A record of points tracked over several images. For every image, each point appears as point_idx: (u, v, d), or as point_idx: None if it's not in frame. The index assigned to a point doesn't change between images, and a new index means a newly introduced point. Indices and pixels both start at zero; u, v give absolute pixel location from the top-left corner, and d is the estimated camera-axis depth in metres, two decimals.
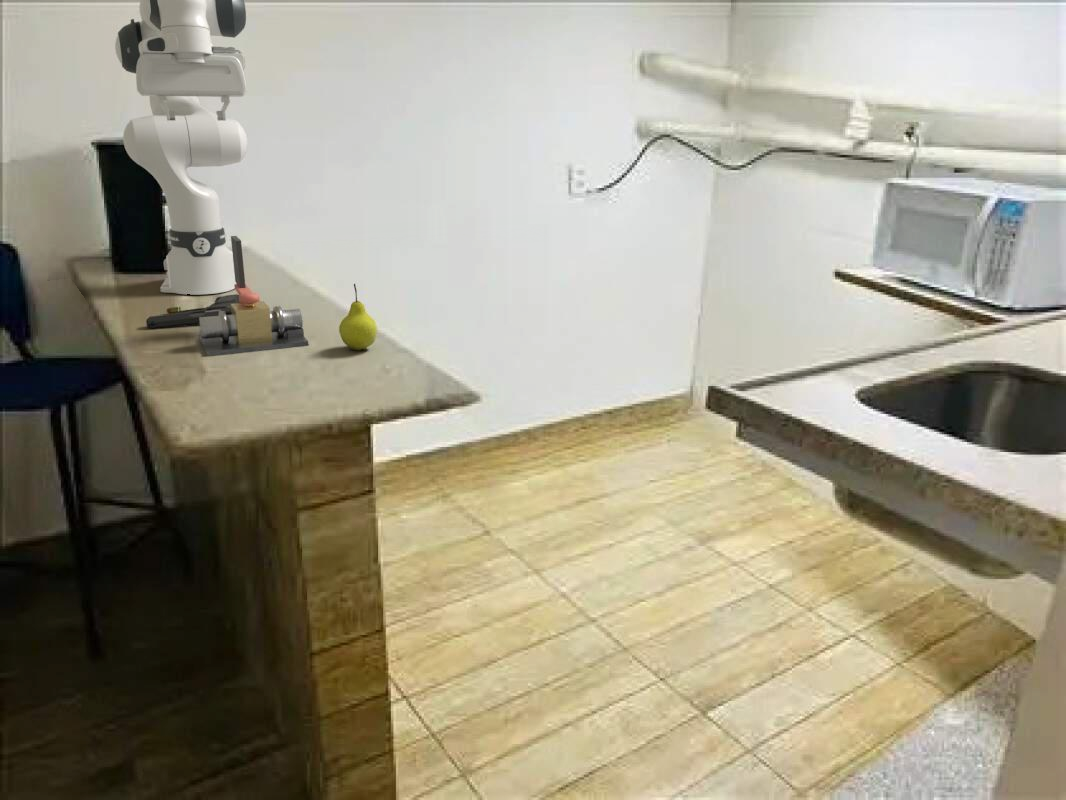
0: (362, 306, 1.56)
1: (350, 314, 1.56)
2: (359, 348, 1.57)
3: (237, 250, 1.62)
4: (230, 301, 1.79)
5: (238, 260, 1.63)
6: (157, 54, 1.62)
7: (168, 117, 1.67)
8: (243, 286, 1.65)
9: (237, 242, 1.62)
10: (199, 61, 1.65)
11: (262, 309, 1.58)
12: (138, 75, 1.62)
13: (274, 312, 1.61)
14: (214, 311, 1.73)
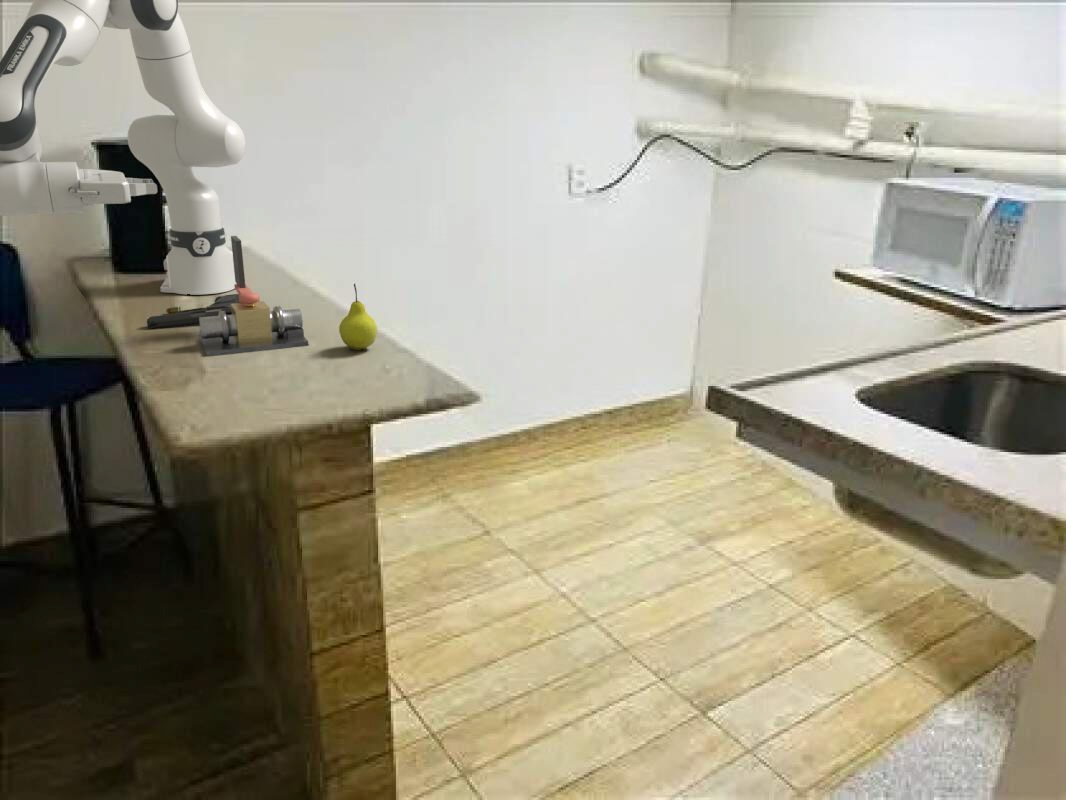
0: (362, 306, 1.56)
1: (350, 314, 1.56)
2: (359, 348, 1.57)
3: (237, 250, 1.62)
4: (230, 301, 1.80)
5: (238, 260, 1.63)
6: None
7: None
8: (243, 286, 1.65)
9: (237, 242, 1.62)
10: (91, 204, 1.50)
11: (262, 309, 1.58)
12: None
13: (274, 312, 1.61)
14: (215, 311, 1.73)
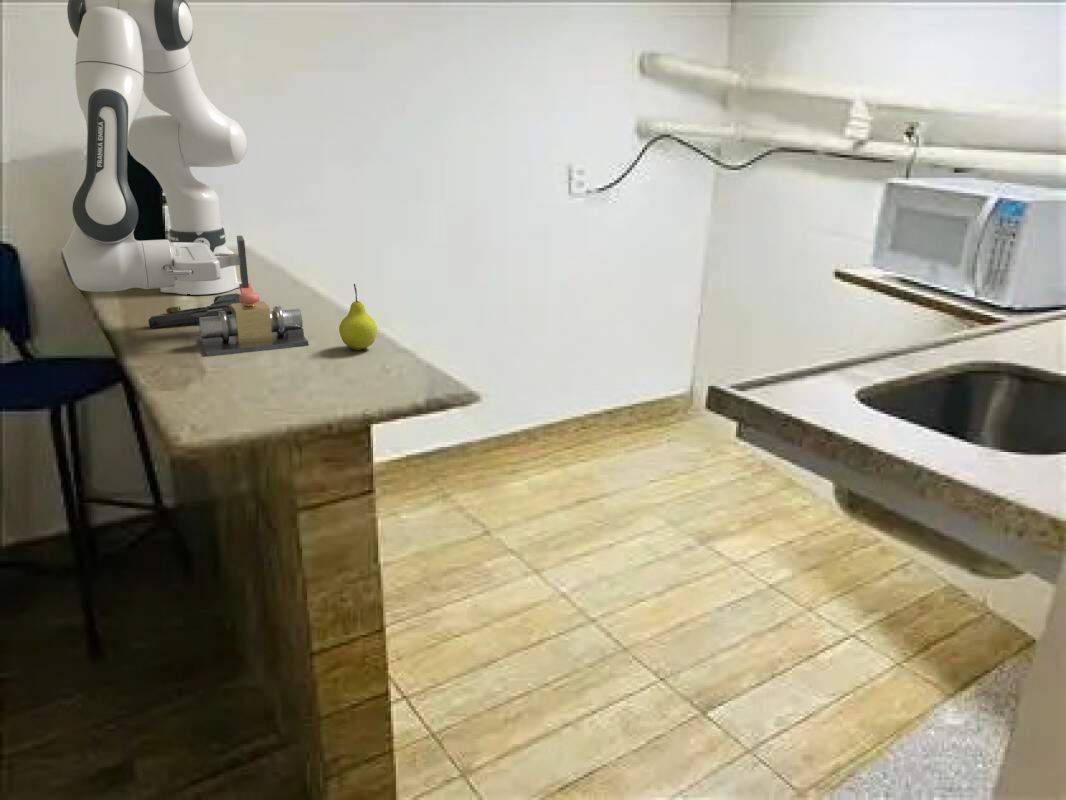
0: (362, 306, 1.56)
1: (350, 314, 1.56)
2: (359, 348, 1.57)
3: (240, 250, 1.62)
4: (230, 300, 1.80)
5: (241, 260, 1.63)
6: None
7: None
8: (246, 286, 1.65)
9: (240, 242, 1.62)
10: None
11: (262, 309, 1.58)
12: None
13: (274, 312, 1.61)
14: (216, 310, 1.74)
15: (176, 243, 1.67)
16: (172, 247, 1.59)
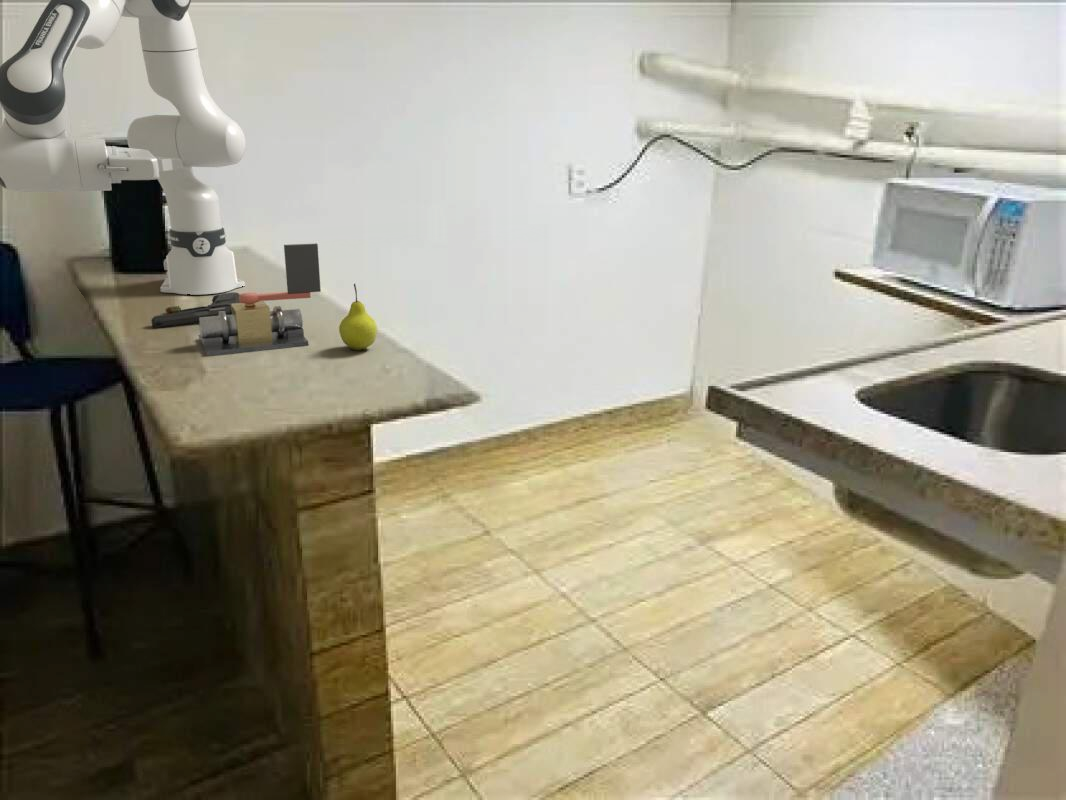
0: (362, 306, 1.56)
1: (350, 314, 1.56)
2: (359, 348, 1.57)
3: None
4: (231, 299, 1.81)
5: (285, 264, 1.60)
6: None
7: None
8: (287, 292, 1.61)
9: (284, 246, 1.58)
10: (119, 181, 1.51)
11: (262, 309, 1.58)
12: None
13: (274, 312, 1.61)
14: (219, 309, 1.75)
15: (115, 148, 1.57)
16: (108, 147, 1.49)
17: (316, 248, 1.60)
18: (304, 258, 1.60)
